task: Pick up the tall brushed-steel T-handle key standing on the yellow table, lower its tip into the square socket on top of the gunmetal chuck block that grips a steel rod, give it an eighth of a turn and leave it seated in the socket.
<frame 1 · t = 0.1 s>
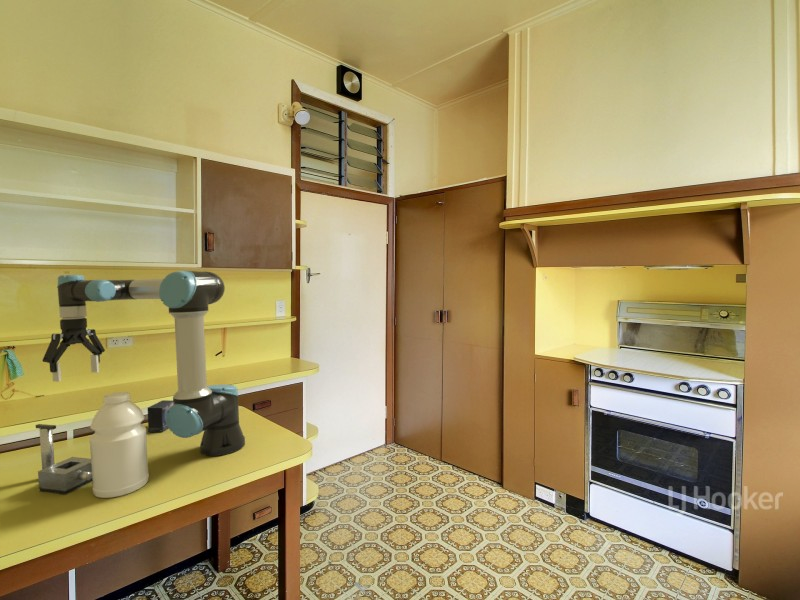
hand: (77, 376, 145), 28 cm above the table, fingers open, 13 cm apart
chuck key: (49, 477, 128), on the table
bottle: (121, 487, 121), on the table
chuck block: (69, 484, 123), on the table
small box: (163, 428, 170), on the table
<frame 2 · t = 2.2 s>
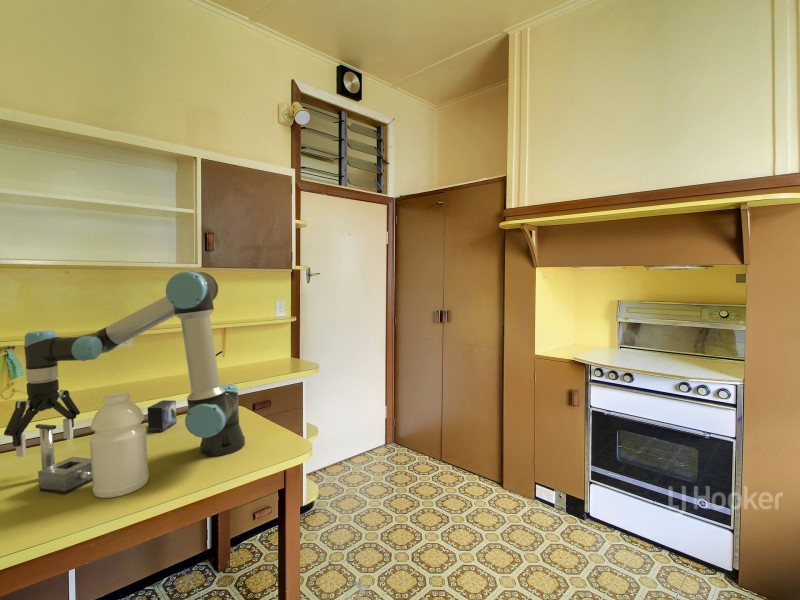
hand: (45, 446, 127), 10 cm above the table, fingers open, 13 cm apart
nothing on the table moved.
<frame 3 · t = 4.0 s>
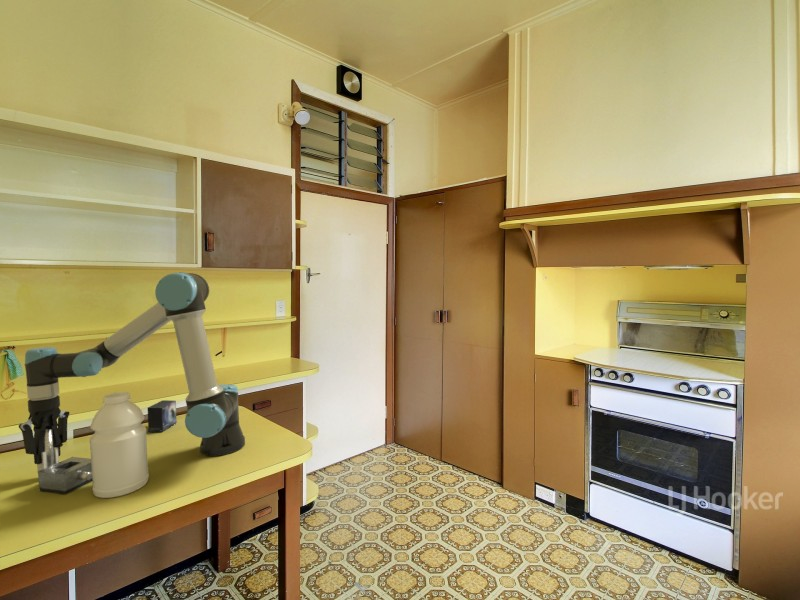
hand: (48, 470, 127), 3 cm above the table, fingers closed on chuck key, 3 cm apart
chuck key: (49, 477, 128), on the table, touching gripper
everything else where it was.
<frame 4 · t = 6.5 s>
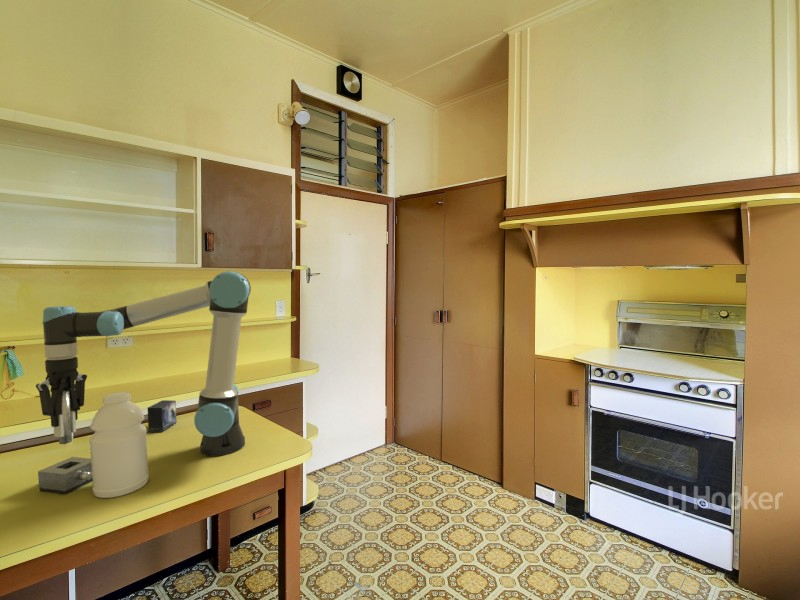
hand: (65, 433, 122), 16 cm above the table, fingers closed on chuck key, 3 cm apart
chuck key: (65, 442, 122), point 13 cm above the table, touching gripper
everything else where it was.
when the fingers open (7 cm above the table, at t = 9.0 s): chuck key drops 3 cm, resting on chuck block.
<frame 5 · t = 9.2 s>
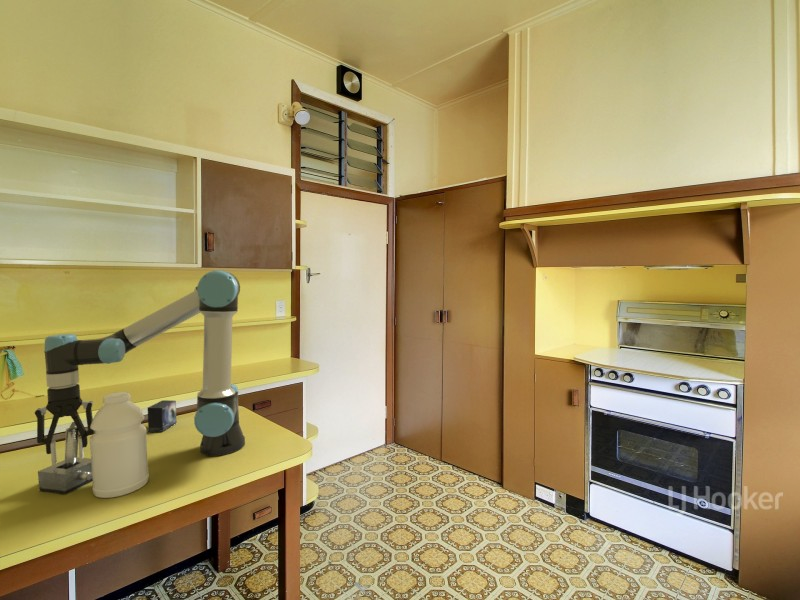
hand: (68, 460, 123), 7 cm above the table, fingers open, 6 cm apart
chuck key: (70, 480, 123), point 1 cm above the table, touching chuck block
everything else where it was.
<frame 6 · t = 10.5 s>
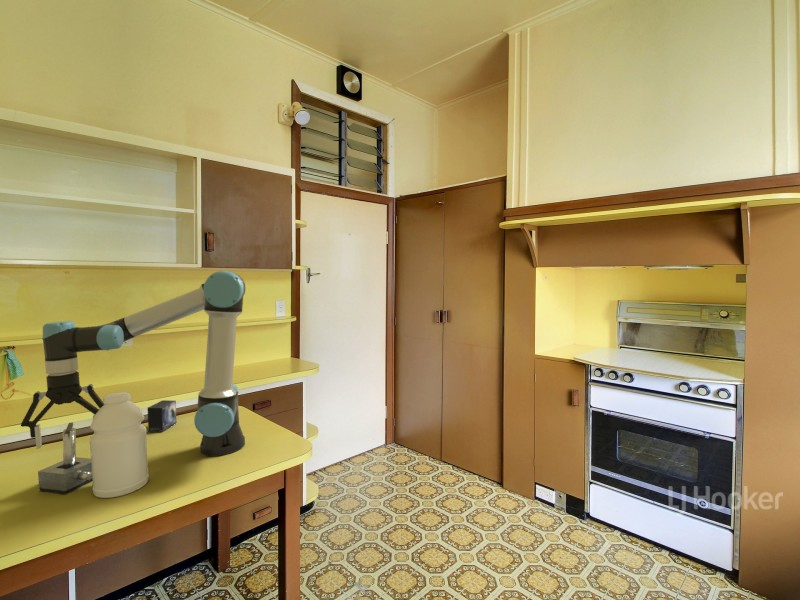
hand: (68, 441, 123), 13 cm above the table, fingers open, 13 cm apart
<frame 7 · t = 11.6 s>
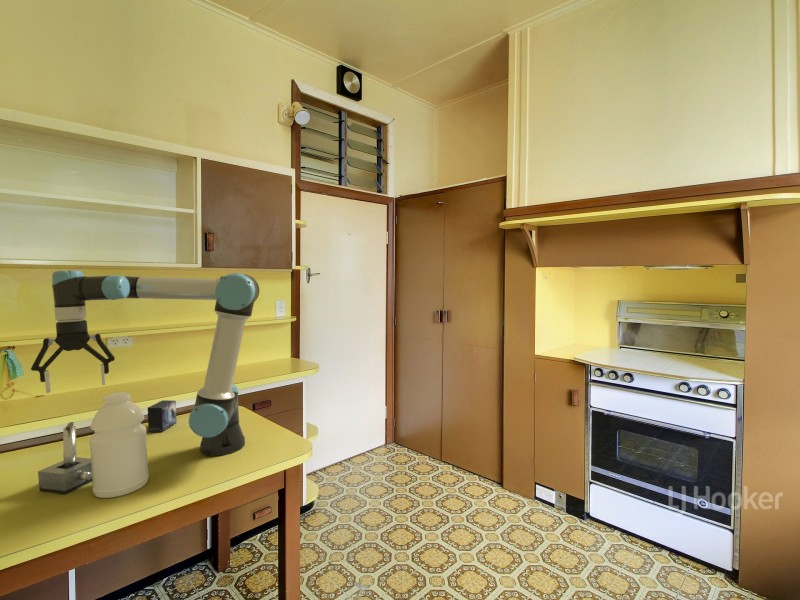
hand: (77, 388, 126), 29 cm above the table, fingers open, 13 cm apart
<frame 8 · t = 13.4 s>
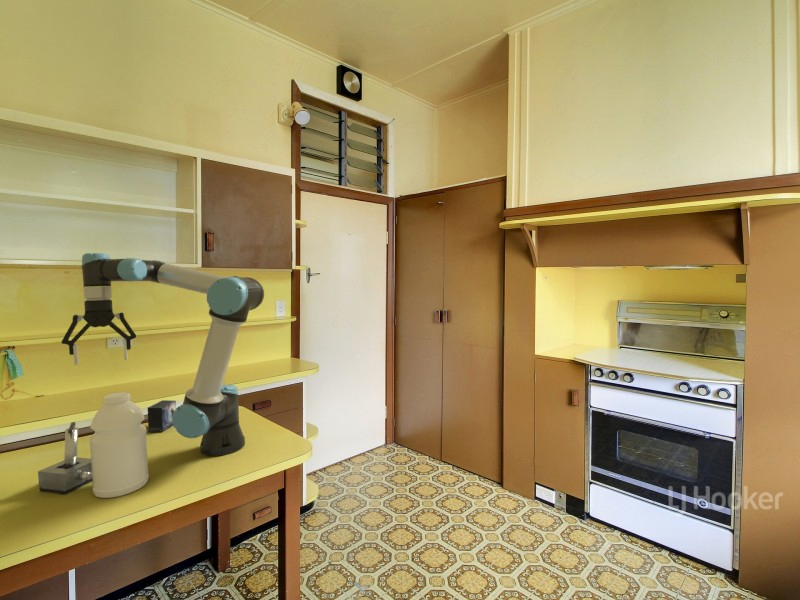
hand: (101, 361, 137), 35 cm above the table, fingers open, 13 cm apart
at the end: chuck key 0.1 cm off-centre on the chuck block, point 1.1 cm above the chuck block's base; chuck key tilted 4°; the gripper is holding nothing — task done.
